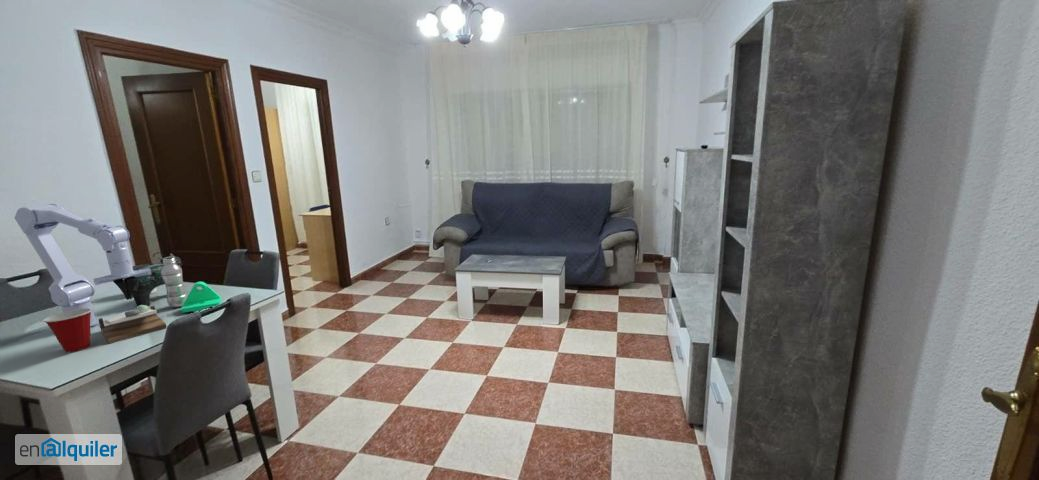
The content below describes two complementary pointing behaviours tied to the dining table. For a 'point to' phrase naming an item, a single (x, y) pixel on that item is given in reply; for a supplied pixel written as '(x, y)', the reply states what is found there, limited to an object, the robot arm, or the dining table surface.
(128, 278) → the robot arm
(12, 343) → the dining table surface
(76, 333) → the plastic cup
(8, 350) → the dining table surface
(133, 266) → the jar
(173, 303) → the plastic bottle
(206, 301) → the green triangular piece
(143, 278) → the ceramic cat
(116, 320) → the instrument deck
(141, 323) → the walnut base
